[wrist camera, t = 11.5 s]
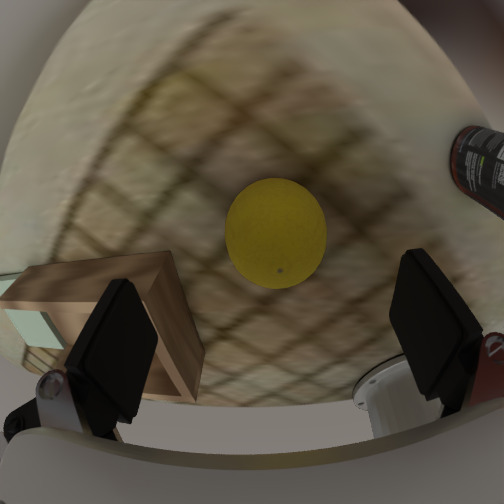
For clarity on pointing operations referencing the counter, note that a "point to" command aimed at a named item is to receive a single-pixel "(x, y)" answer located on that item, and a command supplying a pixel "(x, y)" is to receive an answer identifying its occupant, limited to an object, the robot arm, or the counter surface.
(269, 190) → the lemon
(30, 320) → the panel
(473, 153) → the supplement bottle
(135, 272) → the crate
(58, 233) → the counter surface
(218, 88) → the counter surface
